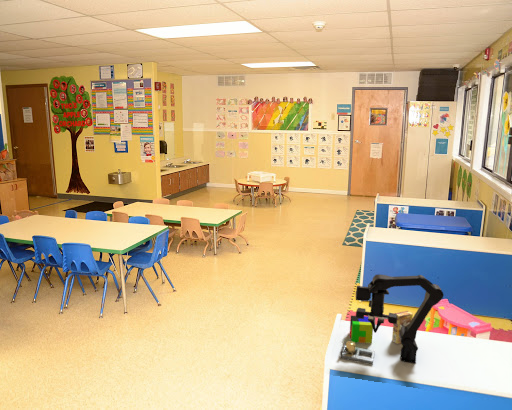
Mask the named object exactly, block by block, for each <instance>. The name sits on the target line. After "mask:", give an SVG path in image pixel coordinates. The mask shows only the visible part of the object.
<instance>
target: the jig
mask: <svg viewBox="0 0 512 410" xmlns="http://www.w3.org/2000/svg"><path fill="white" fill-rule="evenodd" d="M346 342H347V341H346V340H345V341H343V344H342V347H341V349H340V357H339V359H342V360H346V361H351V362H356V363H357V362H358V363H360V364H361V363H362V364H365V365H372V366H373V365H374V359H375V355H376V352H375V351H376V350H372V349H367V348H361V347H356V346H355V355H350V354H346ZM360 354H361V355H365V356H370V358H367V357H364V356H360Z"/></svg>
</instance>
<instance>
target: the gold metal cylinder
mask: <svg viewBox="0 0 512 410" xmlns="http://www.w3.org/2000/svg"><path fill="white" fill-rule="evenodd" d="M355 347H356V342H352V340H349V341H346V351H345V354H350V355H355V356H356V353H355Z"/></svg>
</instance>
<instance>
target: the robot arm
mask: <svg viewBox="0 0 512 410" xmlns="http://www.w3.org/2000/svg"><path fill="white" fill-rule="evenodd" d="M414 286H416V287H417V286H418V287H419V286H420V287H421V288H422V289H423V290H424V291H425V294H424V299H423V301H422V302H421V304H420V306H419V307H418V309H417V311H416V312H415V314H413V317H412V320H411V321H410V323H409V324H408V325H407V326H404V325H402V328H401V329H400V330H399V338H400V341H401V343H400V344H401V345H402V346H401V347H400V348H401V349H400V360H401V362H404V363H405V362H407V363H410V364H416V363H417V352H418V350H419V347H418V344H417V341H416V338H417V332H418V330H419V329H420V327H421V326H422V324H423V322H424V321H425V319H426V318H427V317H428V315H429V313H430V311H431V310H432V308H434V306H435V305H437V304H439V303H440V302H441V300H442V299H443V297H444V292H443V291H442V289H441V287H440V286H439V285H438V284H436V283H433V282H431V281H430V280H429V279H428V278H426V277H425V276H424V275H422V274H419V275H403V276H391V275H387V274H379V273H378V274H375V275H374V276H373V277H372V279H371V280H370V282H369V283H368V284H367V286H364V285H357V286H356V289H355V301H362V302H368V307H369V308H370V311H366V310H367V309H366V308H363V307H362V308H361V307H357V308H356V311H355V316H356V317H357V318H363V317H364V316H367V317H368V321H370V323H371V325H372V327H373V332H374V333H375V334H376V333H377V331H378V329H379V328H380V326H381V325H382V324H385V320H387V322H388V323H389V324H391V325H392V324H397V316H398V315H397V314H394V313H392V312H388V314H384V309H385V307H384V306H385V295H390V292H389V290H388V289H390V288H394V287H414ZM376 318H377V322H376ZM374 333H373V334H374Z"/></svg>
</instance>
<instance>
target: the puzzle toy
mask: <svg viewBox="0 0 512 410" xmlns="http://www.w3.org/2000/svg"><path fill="white" fill-rule="evenodd" d="M349 323H350V324H349V336H350V339H351V340H350V341H352V342H355V343H357V342H358V343H360V344H361V343H362V344H373V334H374V333H373V332H374V330H373V327H372V325H371V323H370V321H368V316H365V315H364V317H363V318H357V317H356V315H350V321H349Z"/></svg>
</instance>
